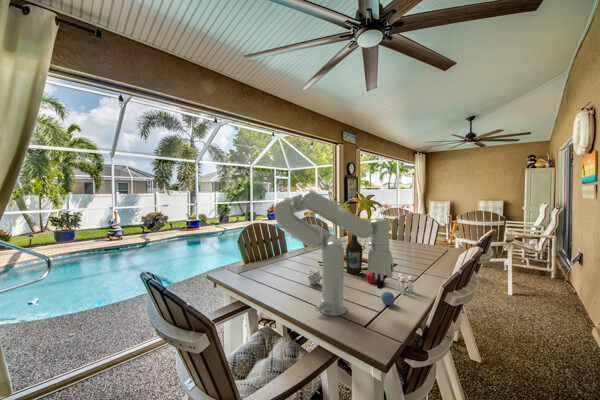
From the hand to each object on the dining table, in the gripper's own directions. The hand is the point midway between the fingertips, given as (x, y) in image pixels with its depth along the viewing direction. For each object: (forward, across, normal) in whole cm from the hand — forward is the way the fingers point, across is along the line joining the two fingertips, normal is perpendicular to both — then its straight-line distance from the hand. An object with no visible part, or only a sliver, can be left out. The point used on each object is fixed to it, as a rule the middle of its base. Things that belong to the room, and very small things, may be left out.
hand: (380, 287), depth 105 cm
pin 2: (+12, +2, +30) cm, 33 cm away
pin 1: (+11, -3, +30) cm, 33 cm away
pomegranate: (+11, -19, +30) cm, 37 cm away
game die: (+10, -41, +2) cm, 42 cm away
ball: (+8, -1, +9) cm, 12 cm away
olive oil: (+11, -36, +35) cm, 51 cm away
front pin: (+11, -1, +26) cm, 28 cm away
